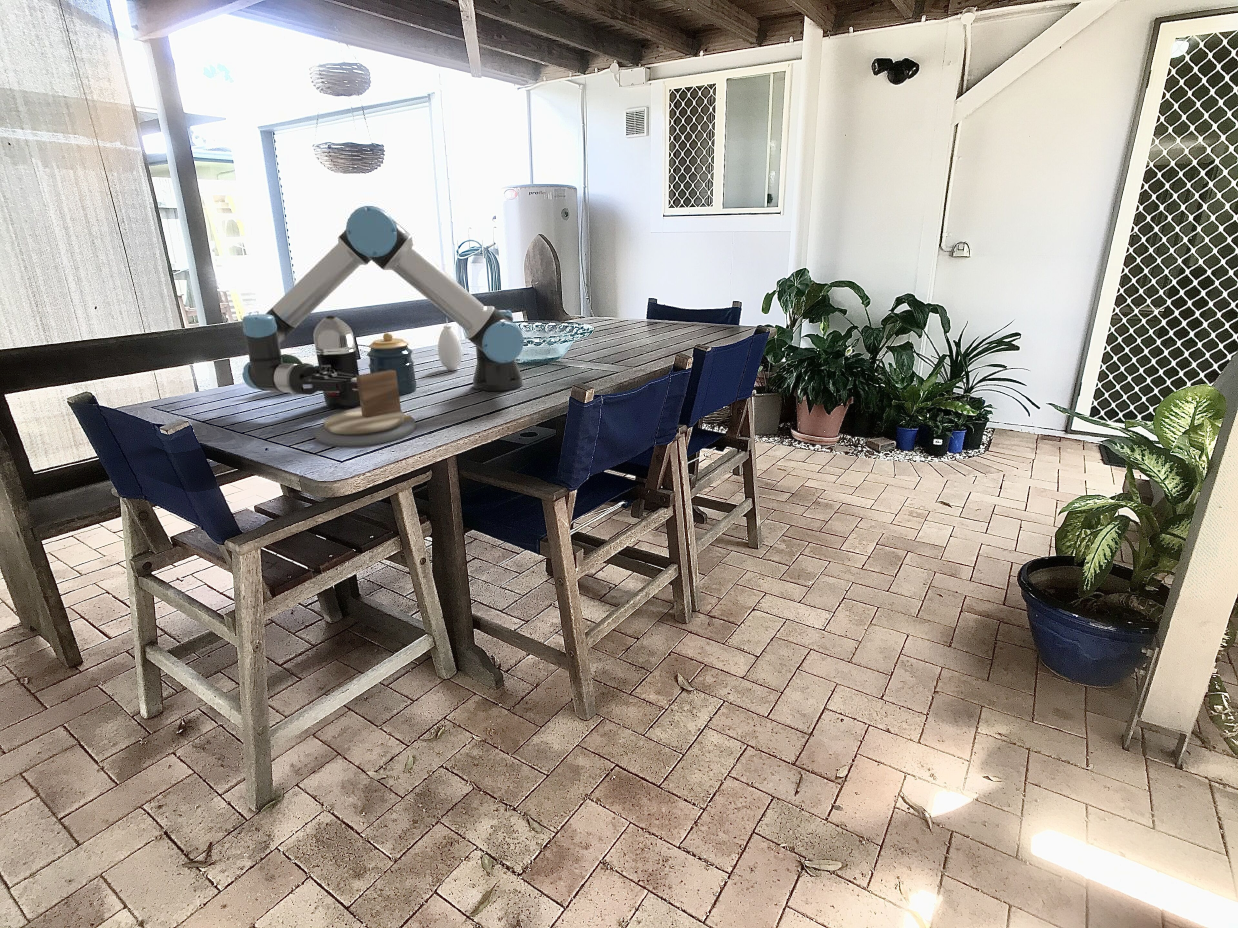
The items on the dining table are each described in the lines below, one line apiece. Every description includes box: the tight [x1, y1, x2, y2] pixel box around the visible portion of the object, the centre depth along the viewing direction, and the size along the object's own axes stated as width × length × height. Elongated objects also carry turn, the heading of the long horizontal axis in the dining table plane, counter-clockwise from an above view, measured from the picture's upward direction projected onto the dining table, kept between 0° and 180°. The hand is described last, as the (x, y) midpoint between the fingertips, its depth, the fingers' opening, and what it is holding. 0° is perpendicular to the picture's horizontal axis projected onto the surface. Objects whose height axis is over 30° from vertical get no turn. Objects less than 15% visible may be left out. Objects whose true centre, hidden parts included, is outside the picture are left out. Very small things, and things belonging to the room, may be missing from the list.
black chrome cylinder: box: [312, 314, 361, 410], centre depth 177 cm, size 10×10×25 cm
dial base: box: [314, 414, 417, 448], centre depth 157 cm, size 23×23×2 cm
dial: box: [323, 370, 405, 434], centre depth 155 cm, size 18×18×12 cm
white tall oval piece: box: [437, 317, 463, 372], centre depth 221 cm, size 8×8×18 cm
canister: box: [366, 332, 417, 396], centre depth 194 cm, size 13×13×18 cm
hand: (375, 385), depth 159 cm, fingers closed
